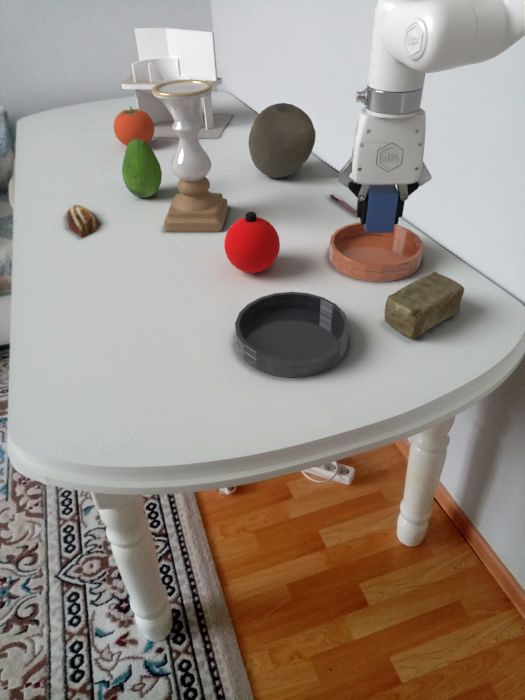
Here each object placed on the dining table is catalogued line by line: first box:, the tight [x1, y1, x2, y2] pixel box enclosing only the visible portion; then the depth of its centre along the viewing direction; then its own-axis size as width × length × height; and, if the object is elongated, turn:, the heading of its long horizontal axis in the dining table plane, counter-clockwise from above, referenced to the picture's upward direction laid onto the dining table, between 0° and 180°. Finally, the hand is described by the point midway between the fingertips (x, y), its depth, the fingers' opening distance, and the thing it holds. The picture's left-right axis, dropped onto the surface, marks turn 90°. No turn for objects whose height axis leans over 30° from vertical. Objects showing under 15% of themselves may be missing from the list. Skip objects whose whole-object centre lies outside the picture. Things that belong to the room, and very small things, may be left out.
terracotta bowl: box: [328, 221, 424, 283], centre depth 88 cm, size 15×15×3 cm
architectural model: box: [121, 27, 233, 139], centre depth 142 cm, size 28×21×23 cm
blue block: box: [364, 185, 399, 233], centre depth 83 cm, size 4×4×6 cm
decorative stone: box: [66, 203, 99, 238], centre depth 102 cm, size 14×6×2 cm, turn 32°
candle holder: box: [152, 80, 229, 233], centre depth 94 cm, size 11×11×24 cm
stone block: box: [384, 271, 465, 340], centre depth 73 cm, size 6×12×5 cm, turn 129°
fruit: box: [121, 139, 163, 199], centre depth 108 cm, size 8×8×12 cm
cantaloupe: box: [248, 102, 317, 179], centre depth 113 cm, size 14×14×15 cm
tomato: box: [113, 105, 154, 147], centre depth 133 cm, size 10×10×10 cm
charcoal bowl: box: [234, 291, 350, 378], centre depth 71 cm, size 15×15×3 cm
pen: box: [328, 192, 357, 215], centre depth 104 cm, size 11×1×1 cm, turn 26°
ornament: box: [224, 211, 281, 274], centre depth 84 cm, size 9×9×10 cm
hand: (378, 219), depth 84 cm, fingers closed on blue block, 4 cm apart
